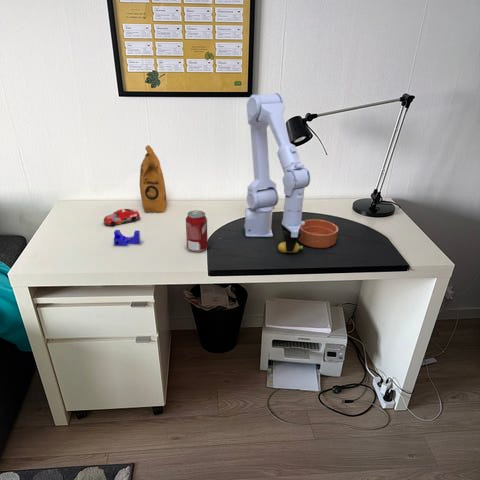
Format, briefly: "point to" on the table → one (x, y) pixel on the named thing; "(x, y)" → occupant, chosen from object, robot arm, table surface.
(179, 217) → the table surface
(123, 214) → the race car
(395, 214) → the table surface
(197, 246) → the soda can
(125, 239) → the cable holder
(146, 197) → the coffee package
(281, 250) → the yellow squeeze bottle
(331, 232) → the basin
